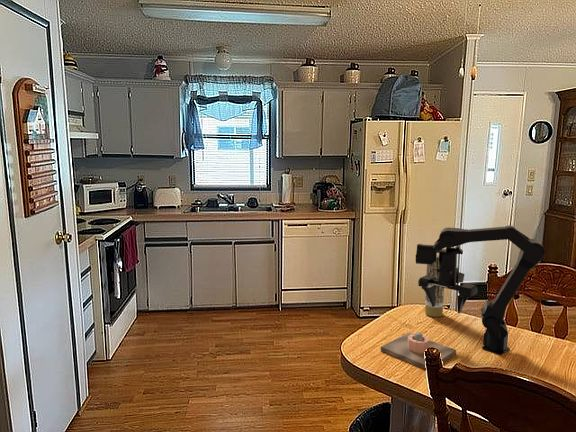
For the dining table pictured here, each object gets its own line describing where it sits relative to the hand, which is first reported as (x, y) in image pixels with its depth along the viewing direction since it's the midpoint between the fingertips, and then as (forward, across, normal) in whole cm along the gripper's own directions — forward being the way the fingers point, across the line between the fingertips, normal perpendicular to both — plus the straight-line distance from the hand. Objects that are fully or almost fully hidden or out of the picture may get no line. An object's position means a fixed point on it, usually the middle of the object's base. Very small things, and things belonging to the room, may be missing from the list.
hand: (446, 309), depth 152 cm
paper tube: (+12, +15, -20) cm, 28 cm away
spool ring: (+10, +2, +14) cm, 17 cm away
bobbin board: (+12, +3, +14) cm, 18 cm away
